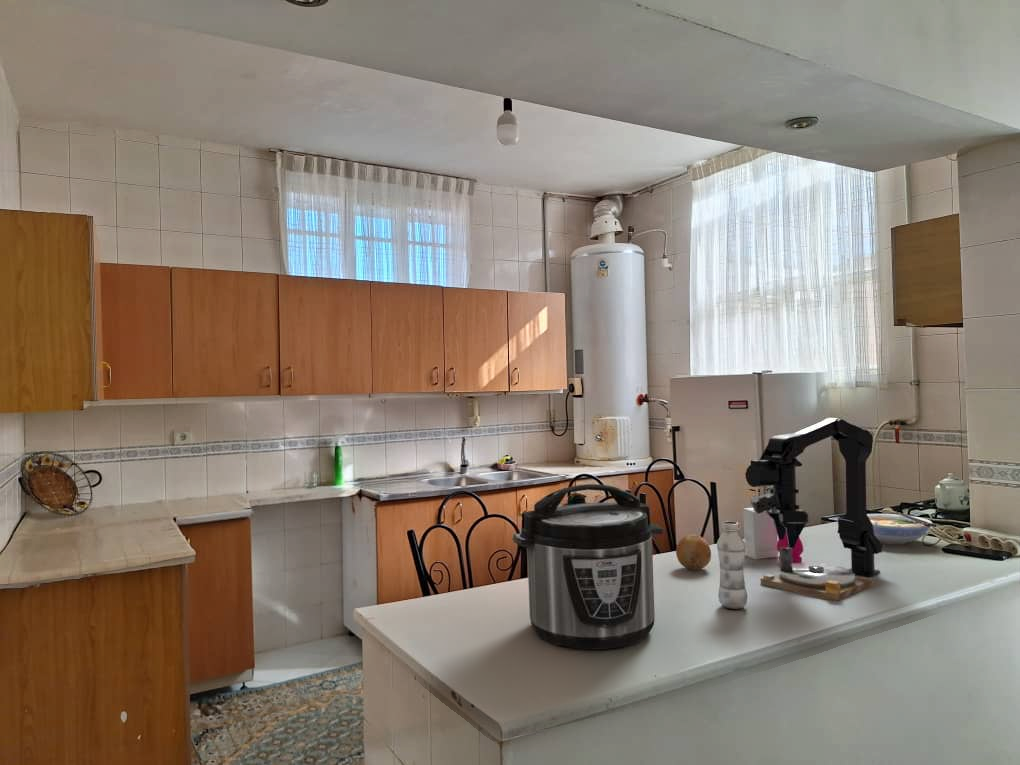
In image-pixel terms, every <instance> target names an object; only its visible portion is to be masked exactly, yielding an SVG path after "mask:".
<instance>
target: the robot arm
mask: <svg viewBox="0 0 1020 765" xmlns="http://www.w3.org/2000/svg"><path fill="white" fill-rule="evenodd" d="M828 438H832V439H833V440H835V441H836V442H837V443H838V449H839V452H840V454H841V455H842V458H844V461H845V513H844V515H843V517H842V518H838V519H837V526H838V527H837V532H836V533H837V534H839V539H840V540H841V543H842V546H843V548H844V549H848V550H850V557H851V558H850V562H851V564H850V565H851V566H850V567H851V568H849V570H851V571H852V572H854V574H855V575H859V576H860V575H861V576H865V577H872V576H875V575H877V574H879V573H881V570H879V569H875V555H878V554H880V553H882V551H883V547H884V545H883V544H884V543H882V542H880V541H879V540H878V539H877V538H876V536H875V535H874V531H873V525H872V523H871V521H870V519H869V518H868V516H867V514H868V513H867V471H866V470H867V467H866V466H867V460H868V459H869V457H870V455H871V454H872V452H873V443H874V436H873V434H872V433H871V432H870V431H869V430H867V429H863V428H862V427H859V426H857V425H855V424H851V423H849V422H848V421H846V420H844V419H842V418H840V417H827V418H825V419H823V420H821V422H817V423H816V424H813V425H810V426H808V427H806V428H802V429H801V430H798V431H796V432H793V433H792V432H791V433H784V434H779V435H778V434H777V435H773V436H771V437H770V438H769V439H768V442H767V445H766V447H765V449H764V451H763V452H762V454H761V456H760V458H759V459H758V460H755V459H751V460H750V465H748V466H747V468H746V471H745V472H744V473H745V474H744V475H745V480H746V482H747V484H748V486H750V487H752V488H757V487H758V488H759V487H767V486H770V488H769V492H768V493H765V494H761V495H759V496H756V497H753V498H751V499H750V500H749V501H750V502H749V503H751V506H752V507H751V508H753V509H754V511H755V512H757V513H762V512H764V511H767V512H766V513H767V514H768V515H769V516H770V517H771V518H772V519H773V521H774V525H775V528H776V531H777V539H778V540H783V539H784V536H785V533H786V534H787V540H788V544H789V547H790V548H794V546H795V544H796V542H797V540H798V538H800V536H801V534H802V531H803V529H804V528H805V526H806V525H807V523H809V514H808V513H807V512H806V511H805V510H803V509H801V508H800V509H799V507H800V504H797V502H798V501H797V494H799V488H797V477H796V476H797V475H796V473H797V472H796V467H797V468H798V467H803V463H802V462H801V461H799V460H798V458H797V457H799V456H800V455H801V454H803V453H804V451H805V450H806V448H807V447H809V446H812V445H814V444H817V443H818V442H821V441H823V440H825V439H828Z"/></svg>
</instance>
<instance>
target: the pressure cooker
mask: <svg viewBox="0 0 1020 765" xmlns="http://www.w3.org/2000/svg"><path fill="white" fill-rule="evenodd" d="M580 491H581V492H583V491H602V492H607V493H608V494H609V495H610V496H611V497H612V498H613V500H614V501H615V502H614V503H613V502H586V498H588V497H587V496H586V494H582V493H579V492H580ZM567 493H571V494H570V495H569V496H568V497H567V500H566V501H567V504H563V505H560V504H561V502H562V501H563V499H565V497H566V495H567ZM523 524H524V525H523V526H524V527H523V528H522V529H521V532H520V533H515V534H513V535H512V541H513V542H514V543H515V544H516V545H517V546H520V547H522V548H523V547H524V548H526V549H527V552H526V554H527V573H528V574H527V576H528V578H527V580H528V600H529V601H528V603H529V604H528V605H529V618H530V624H531V626H532V629H533V630H534V632H535V633H536V634H537V636H538V637H539V638H541V639H542V640H545V641H547V642H549V643H551V644H554V645H557V646H558V645H559V646H561V647H562V646H563V647H566V648H573V649H583V650H605V649H606V650H607V649H614V648H616V649H617V648H620V647H626V646H630V645H632V644H636V643H639V642H641V641H642V640H643V639H645V638H646V637H647V636H648V635H649V634H650V632H651V631H652V629H653V627H654V624H655V620H656V619H655V618H656V615H655V614H656V613H655V593H654V592H655V589H654V585H655V584H654V560H653V536H654V535H663V534H664V529H663V527H662V526H659V525H658V524H653V523H651V514H650V506H648V505H647V504H645V503H643V502H642V503H641V500H640V499H639V497H638V496H636V495H635V494H632V493H631V492H629V491H627V490H625V489H622V488H620V487H616V486H611V485H606V484H598V483H597V484H596V483H592V484H589V483H586V484H578V485H577V484H576V485H573V486H568V487H564V488H561V489H558V490H556V491H553V492H551V493H548V494H546V495H545V496H544V497H543V498H540V499H539V500H538V501H536V502H535V503H534V505H533V510H529V511H528V510H527V511H525V512H524V514H523Z"/></svg>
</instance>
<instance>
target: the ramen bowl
mask: <svg viewBox="0 0 1020 765" xmlns="http://www.w3.org/2000/svg"><path fill="white" fill-rule="evenodd" d="M894 513H896V514H893V513H892V514H891V513H866V514H867V516H868V518H869V519H870V521H871V523H872V525H873V531H874V535H875V536H876V538H877V539H878V540H879V541H880V542H881V543H882V544H888V545H896V546H897V545H905V544H906V543H909V542H914V541H917V540H919V539H921V538H922V537H923V536H924V535H925V534H926V533H927V532H928V531H929V530H930V528H931V527H933V528H936V527H937V524H934V523H933V522H932V521H931V520H930V519H927V518H923V517H918V516H911V515H906V514H904V513H902V512H901V513H900V512H898V511H897V512H894Z"/></svg>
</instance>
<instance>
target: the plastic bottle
mask: <svg viewBox="0 0 1020 765" xmlns="http://www.w3.org/2000/svg"><path fill="white" fill-rule="evenodd" d="M739 526H740V524H739V522H737V521H729V520H726V521H723V522H722V529H721V530H722V533H721V535H720V537H719V538H718V539H717V541H716V542H717V543H716V548H717V554H718V561H719V572H720V573H719V574H720V575H719V586H718V594H717V597H718V602H719V603H720V605H721V606H722V607H724V608H728V609H734V610H736V609H737V610H738V609H744V608H745V607H746V606H747V603H748V592H747V589H746V581H745V572H744V571H745V570H744V568H745V556H746V555H745V540H744V539H743V538H742V536H741V535H740V534H739V532H740V527H739Z"/></svg>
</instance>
